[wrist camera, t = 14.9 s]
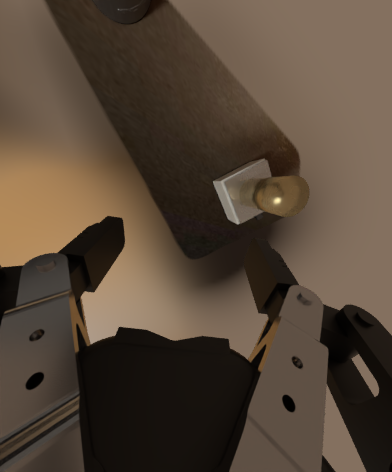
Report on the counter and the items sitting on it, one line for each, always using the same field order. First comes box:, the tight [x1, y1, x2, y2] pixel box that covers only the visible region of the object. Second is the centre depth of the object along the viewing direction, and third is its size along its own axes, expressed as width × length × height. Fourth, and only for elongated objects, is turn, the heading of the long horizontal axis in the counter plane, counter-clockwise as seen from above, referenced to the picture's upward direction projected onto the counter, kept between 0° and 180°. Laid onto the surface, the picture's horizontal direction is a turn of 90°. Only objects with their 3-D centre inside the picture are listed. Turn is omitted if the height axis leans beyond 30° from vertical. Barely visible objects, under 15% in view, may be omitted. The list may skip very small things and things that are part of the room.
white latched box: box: [213, 158, 265, 224], centre depth 33 cm, size 9×9×5 cm
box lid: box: [223, 160, 272, 224], centre depth 32 cm, size 10×8×4 cm
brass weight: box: [239, 176, 309, 217], centre depth 25 cm, size 5×5×10 cm
